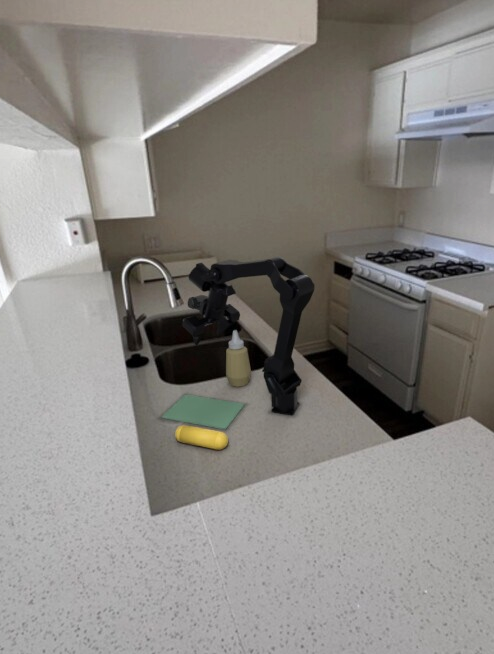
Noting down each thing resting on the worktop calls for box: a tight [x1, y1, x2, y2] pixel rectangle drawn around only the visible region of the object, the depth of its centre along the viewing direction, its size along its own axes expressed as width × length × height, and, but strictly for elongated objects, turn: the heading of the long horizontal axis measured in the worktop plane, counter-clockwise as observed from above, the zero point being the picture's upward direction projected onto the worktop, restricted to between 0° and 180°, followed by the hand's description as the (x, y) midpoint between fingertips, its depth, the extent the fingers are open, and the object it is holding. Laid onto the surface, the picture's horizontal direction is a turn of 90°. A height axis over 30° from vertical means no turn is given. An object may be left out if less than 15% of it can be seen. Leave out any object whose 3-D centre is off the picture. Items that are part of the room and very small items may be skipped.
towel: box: [161, 393, 246, 431], centre depth 120 cm, size 20×13×1 cm, turn 70°
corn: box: [174, 424, 229, 451], centre depth 105 cm, size 14×4×4 cm, turn 70°
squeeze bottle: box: [225, 329, 252, 388], centre depth 131 cm, size 8×8×18 cm
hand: (207, 339), depth 132 cm, fingers open, 9 cm apart
